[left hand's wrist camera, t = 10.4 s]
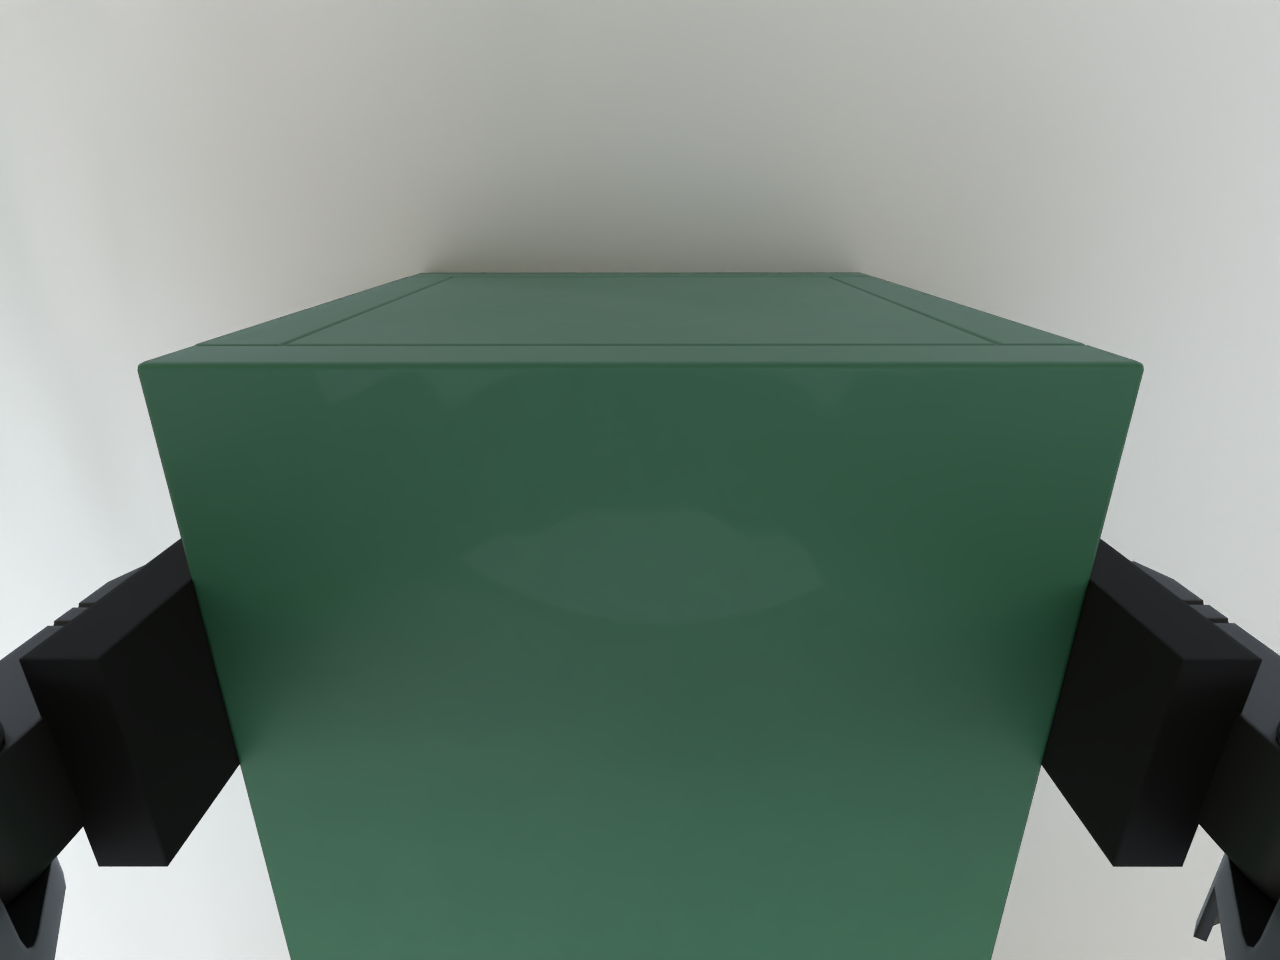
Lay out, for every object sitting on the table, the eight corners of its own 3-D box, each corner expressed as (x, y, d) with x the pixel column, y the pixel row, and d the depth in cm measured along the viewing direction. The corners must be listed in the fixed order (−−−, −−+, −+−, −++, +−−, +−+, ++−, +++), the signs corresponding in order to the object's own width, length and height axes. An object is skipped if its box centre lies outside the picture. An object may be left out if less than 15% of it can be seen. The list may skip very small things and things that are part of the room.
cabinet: (796, 877, 24) (899, 1321, 14) (485, 877, 24) (382, 1320, 14) (862, 272, 17) (1149, 362, 7) (418, 272, 17) (132, 363, 7)
